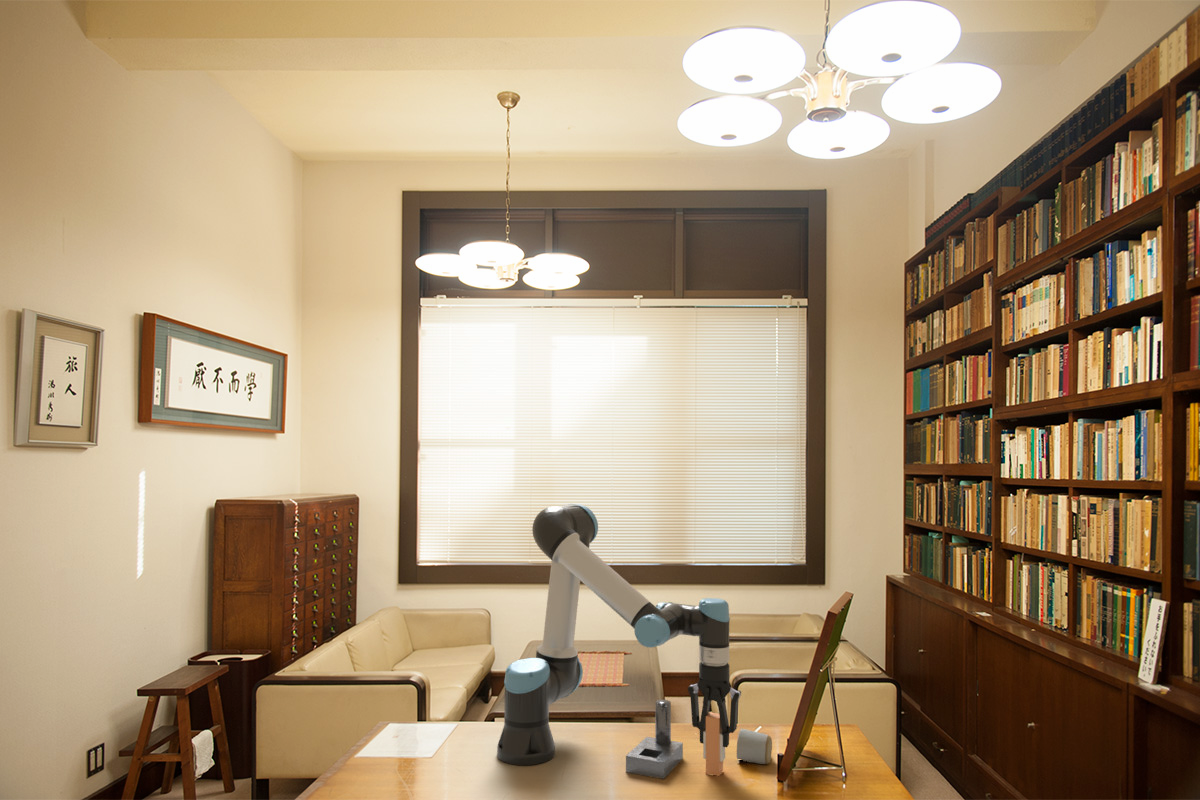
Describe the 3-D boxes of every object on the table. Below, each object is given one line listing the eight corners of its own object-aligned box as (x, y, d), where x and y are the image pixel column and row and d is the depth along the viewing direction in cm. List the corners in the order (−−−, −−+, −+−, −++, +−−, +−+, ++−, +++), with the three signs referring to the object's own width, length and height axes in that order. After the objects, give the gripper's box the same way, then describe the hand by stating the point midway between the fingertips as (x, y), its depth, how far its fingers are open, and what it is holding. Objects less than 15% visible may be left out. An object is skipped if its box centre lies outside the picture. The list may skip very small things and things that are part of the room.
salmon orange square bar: (705, 774, 196) (705, 716, 196) (709, 769, 199) (709, 712, 200) (719, 776, 194) (719, 718, 195) (722, 771, 197) (722, 714, 198)
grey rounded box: (768, 769, 199) (768, 738, 199) (735, 764, 202) (736, 733, 202) (774, 755, 209) (774, 725, 209) (743, 750, 212) (743, 721, 212)
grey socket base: (625, 772, 196) (626, 714, 197) (647, 751, 210) (648, 697, 211) (663, 779, 192) (663, 720, 193) (683, 757, 206) (683, 702, 207)
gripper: (678, 662, 198) (678, 757, 197) (742, 670, 191) (743, 769, 190) (687, 654, 205) (687, 747, 204) (750, 662, 198) (750, 758, 197)
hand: (714, 757), depth 197 cm, fingers closed on salmon orange square bar, 3 cm apart
